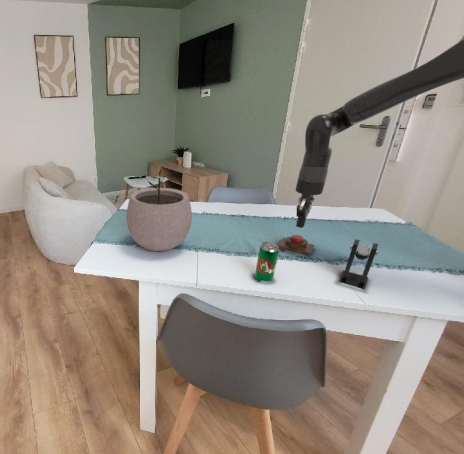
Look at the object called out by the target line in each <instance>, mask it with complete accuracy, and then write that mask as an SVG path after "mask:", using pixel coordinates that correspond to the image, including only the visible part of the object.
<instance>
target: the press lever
mask: <svg viewBox="0 0 464 454" xmlns="http://www.w3.org/2000/svg"><path fill="white" fill-rule="evenodd" d="M371 248H372V246H371V245H367V244H362V243H359V246H358V249H357V250H356V253H355V256H354V257H355V258H356V259H358V260H359V261H365V260H368V257H369V254H370V251H371Z"/></svg>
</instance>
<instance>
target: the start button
mask: <svg viewBox="0 0 464 454" xmlns="http://www.w3.org/2000/svg"><path fill="white" fill-rule="evenodd" d="M291 236H292V237H291ZM291 236H290V237H291V241H293V242H296V243H302V242H303V239H305V238H304V236H303V235H299V234H292V235H291Z"/></svg>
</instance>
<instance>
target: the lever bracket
mask: <svg viewBox="0 0 464 454" xmlns="http://www.w3.org/2000/svg"><path fill="white" fill-rule="evenodd" d="M360 242H361V241H360V239H355V240H354V242H353V244H350V246H349V250H350V253H349V257H348V259H347V262H346V265H345V268H344V270H342V272H341V273H340V274H341V275H340V277H339V279H338V283H341V284H343V285H348V286H352V287H353V288H354V287H355V288H358V289H361V290H366V288H367V285H368V279H369V276H368V275H369V272H370V270H371V267H372V264H373V261H374V259H375V256H378V255H379V250H378V247H379V243H376V242H373V243H372V246H371V248H370V251H369V257H368V258H367V259H366V264H365V266H364V268H363V271H362V274H359V273H355V272H351V267H352V265H353V262H354V258H355V257H356V256H355V253H356V251H358V248H359V245H360Z"/></svg>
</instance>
